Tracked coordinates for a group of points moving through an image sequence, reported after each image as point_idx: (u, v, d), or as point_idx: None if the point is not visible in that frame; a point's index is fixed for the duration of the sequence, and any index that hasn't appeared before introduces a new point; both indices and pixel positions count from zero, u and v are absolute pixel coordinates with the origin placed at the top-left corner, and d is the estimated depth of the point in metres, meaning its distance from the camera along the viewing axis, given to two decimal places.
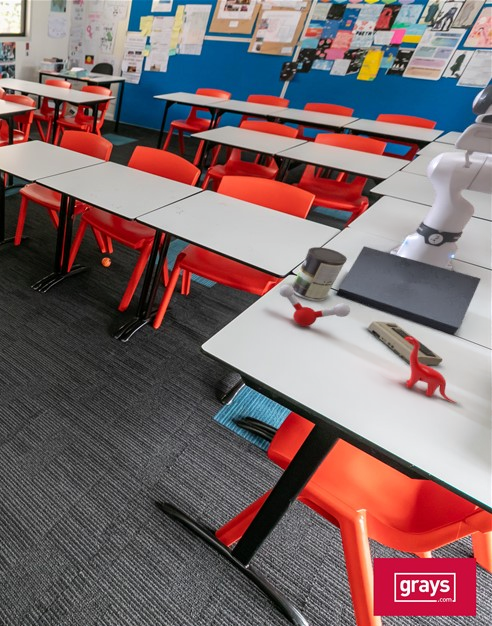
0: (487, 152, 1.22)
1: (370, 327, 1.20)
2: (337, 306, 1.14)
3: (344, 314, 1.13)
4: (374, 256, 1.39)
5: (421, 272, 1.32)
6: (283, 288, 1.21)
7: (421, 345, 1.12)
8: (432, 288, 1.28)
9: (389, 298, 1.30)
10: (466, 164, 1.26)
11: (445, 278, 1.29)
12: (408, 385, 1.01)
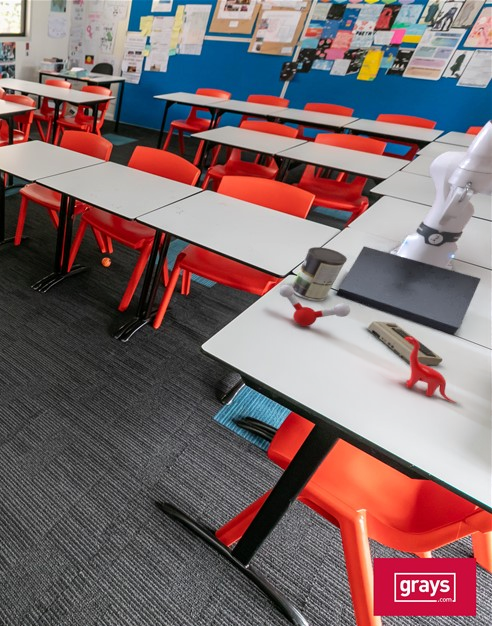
0: None
1: (370, 327, 1.20)
2: (337, 306, 1.14)
3: (344, 314, 1.13)
4: (374, 256, 1.39)
5: (421, 272, 1.32)
6: (283, 288, 1.21)
7: (421, 345, 1.12)
8: (432, 288, 1.28)
9: (389, 298, 1.30)
10: (440, 219, 1.30)
11: (445, 278, 1.29)
12: (408, 385, 1.01)
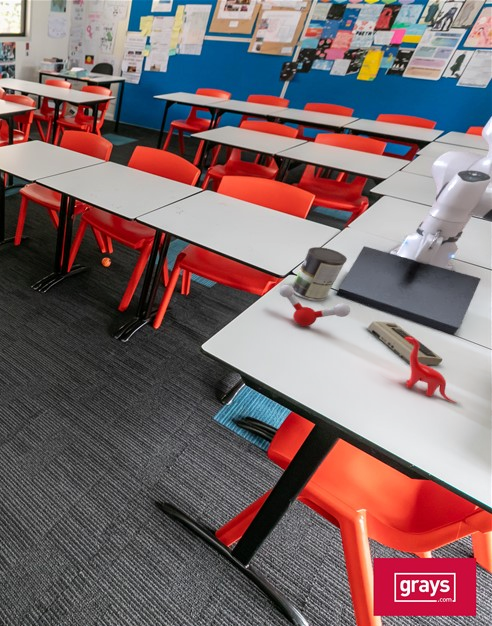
0: None
1: (370, 327, 1.20)
2: (337, 306, 1.14)
3: (344, 314, 1.13)
4: (374, 256, 1.39)
5: (421, 272, 1.32)
6: (283, 288, 1.21)
7: (421, 345, 1.12)
8: (432, 288, 1.28)
9: (389, 298, 1.30)
10: None
11: (445, 278, 1.29)
12: (408, 385, 1.01)
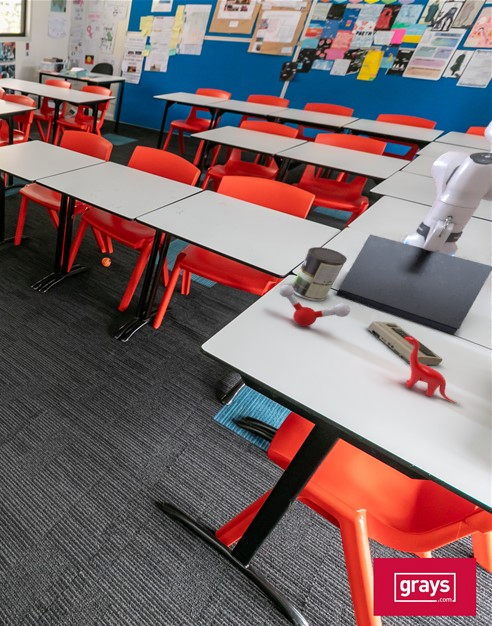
0: None
1: (370, 327, 1.20)
2: (337, 306, 1.14)
3: (344, 314, 1.13)
4: (380, 246, 1.34)
5: (428, 263, 1.27)
6: (283, 288, 1.21)
7: (421, 345, 1.12)
8: (437, 282, 1.25)
9: (390, 297, 1.29)
10: None
11: (454, 269, 1.24)
12: (408, 385, 1.01)
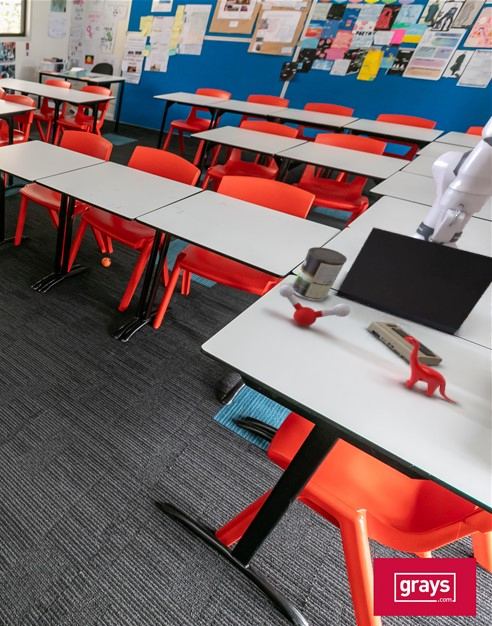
0: (435, 227, 1.22)
1: (370, 327, 1.20)
2: (337, 306, 1.14)
3: (344, 314, 1.13)
4: (383, 241, 1.27)
5: (434, 259, 1.20)
6: (283, 288, 1.21)
7: (421, 345, 1.12)
8: (441, 281, 1.20)
9: (389, 298, 1.28)
10: None
11: (461, 265, 1.17)
12: (408, 385, 1.01)
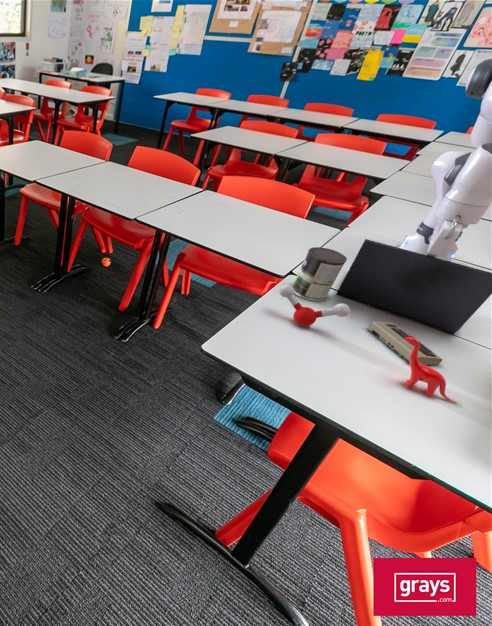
0: None
1: (370, 327, 1.20)
2: (337, 306, 1.14)
3: (344, 314, 1.13)
4: (376, 253, 1.21)
5: (430, 272, 1.15)
6: (283, 288, 1.21)
7: (421, 345, 1.12)
8: (438, 291, 1.16)
9: (388, 302, 1.27)
10: (426, 254, 1.16)
11: (458, 279, 1.11)
12: (408, 385, 1.01)
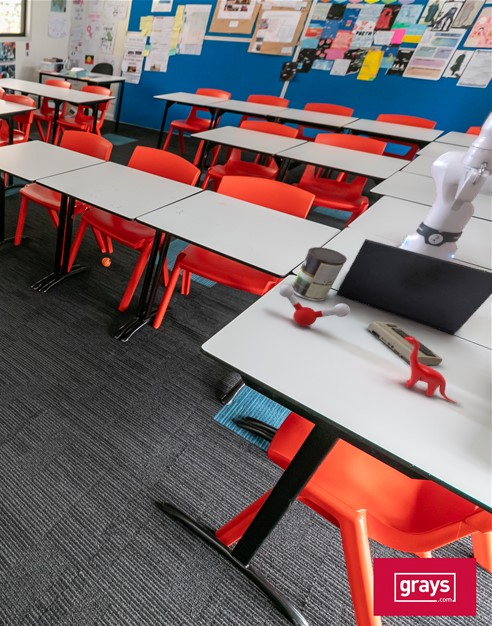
0: None
1: (370, 327, 1.20)
2: (337, 306, 1.14)
3: (344, 314, 1.13)
4: (376, 253, 1.21)
5: (430, 272, 1.15)
6: (283, 288, 1.21)
7: (421, 345, 1.12)
8: (438, 291, 1.16)
9: (388, 302, 1.27)
10: (452, 204, 1.20)
11: (458, 279, 1.11)
12: (408, 385, 1.01)
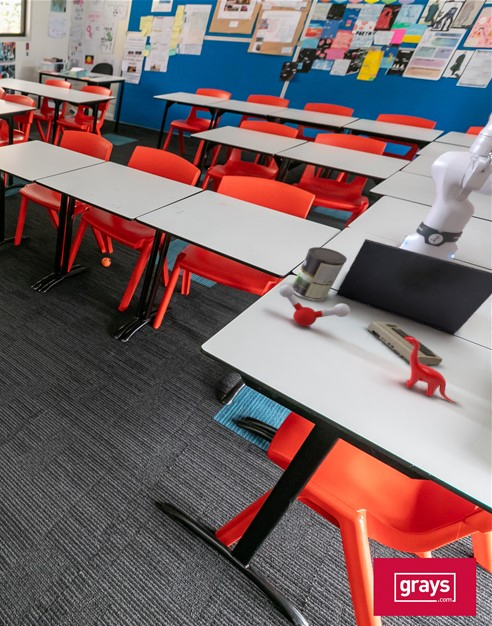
0: None
1: (370, 327, 1.20)
2: (337, 306, 1.14)
3: (344, 314, 1.13)
4: (376, 253, 1.21)
5: (430, 272, 1.15)
6: (283, 288, 1.21)
7: (421, 345, 1.12)
8: (438, 291, 1.16)
9: (388, 302, 1.27)
10: (459, 194, 1.19)
11: (458, 279, 1.11)
12: (408, 385, 1.01)
